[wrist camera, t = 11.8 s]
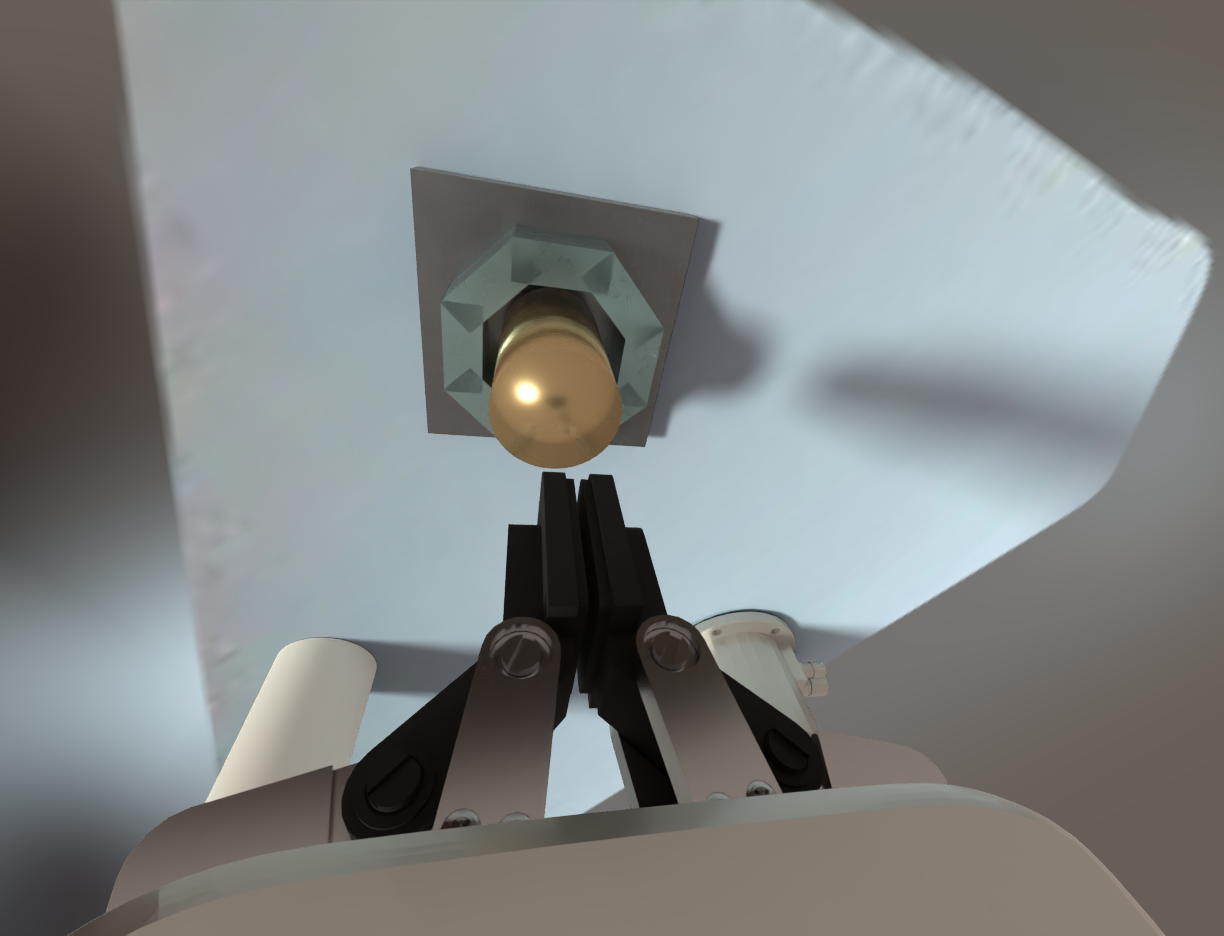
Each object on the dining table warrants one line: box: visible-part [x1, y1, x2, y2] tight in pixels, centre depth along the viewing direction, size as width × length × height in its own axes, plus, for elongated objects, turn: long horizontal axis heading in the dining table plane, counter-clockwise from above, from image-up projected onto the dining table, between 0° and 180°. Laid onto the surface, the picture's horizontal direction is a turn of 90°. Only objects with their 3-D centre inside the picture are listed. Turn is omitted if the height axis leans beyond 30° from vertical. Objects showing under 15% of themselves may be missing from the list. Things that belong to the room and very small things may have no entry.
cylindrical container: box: [205, 638, 377, 803], centre depth 27 cm, size 7×7×25 cm
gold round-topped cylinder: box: [488, 287, 622, 468], centre depth 19 cm, size 5×5×8 cm
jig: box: [410, 167, 699, 447], centre depth 22 cm, size 12×12×4 cm
